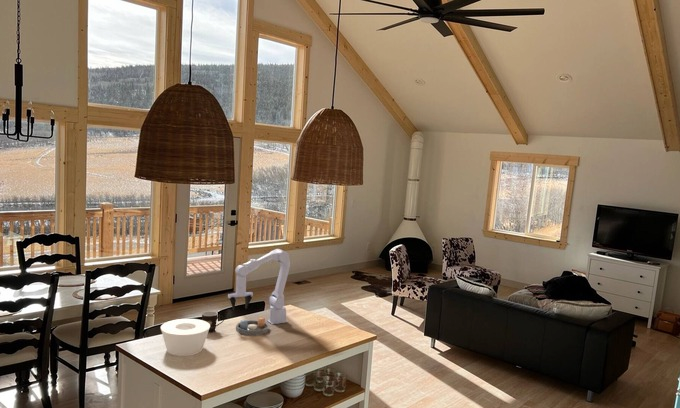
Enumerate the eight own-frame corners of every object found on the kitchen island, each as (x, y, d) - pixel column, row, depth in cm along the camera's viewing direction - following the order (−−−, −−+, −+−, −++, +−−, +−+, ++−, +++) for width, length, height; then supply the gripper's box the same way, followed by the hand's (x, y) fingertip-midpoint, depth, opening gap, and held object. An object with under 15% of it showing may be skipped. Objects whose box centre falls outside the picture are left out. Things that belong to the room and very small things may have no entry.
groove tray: (260, 323, 307) (261, 319, 307) (273, 333, 292) (273, 328, 292) (231, 326, 298) (232, 322, 298) (243, 337, 283) (243, 332, 282)
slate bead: (245, 327, 295) (246, 319, 294) (248, 330, 291) (248, 321, 291) (239, 328, 293) (239, 320, 292) (241, 330, 289) (242, 322, 289)
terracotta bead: (262, 325, 300) (263, 317, 300) (265, 327, 297) (266, 319, 297) (256, 326, 298) (256, 318, 298) (259, 328, 295) (259, 320, 294)
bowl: (218, 351, 261) (218, 328, 259) (172, 362, 244) (173, 338, 243) (195, 337, 278) (196, 315, 277) (151, 346, 262) (152, 323, 260)
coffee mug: (198, 332, 286) (198, 314, 285) (206, 327, 294) (207, 310, 293) (216, 335, 283) (217, 317, 282) (224, 330, 291) (225, 313, 290)
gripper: (250, 283, 304) (249, 305, 305) (226, 285, 296) (225, 308, 298) (254, 286, 298) (253, 309, 299) (230, 288, 290) (229, 311, 292)
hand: (239, 309), depth 298 cm, fingers open, 7 cm apart
